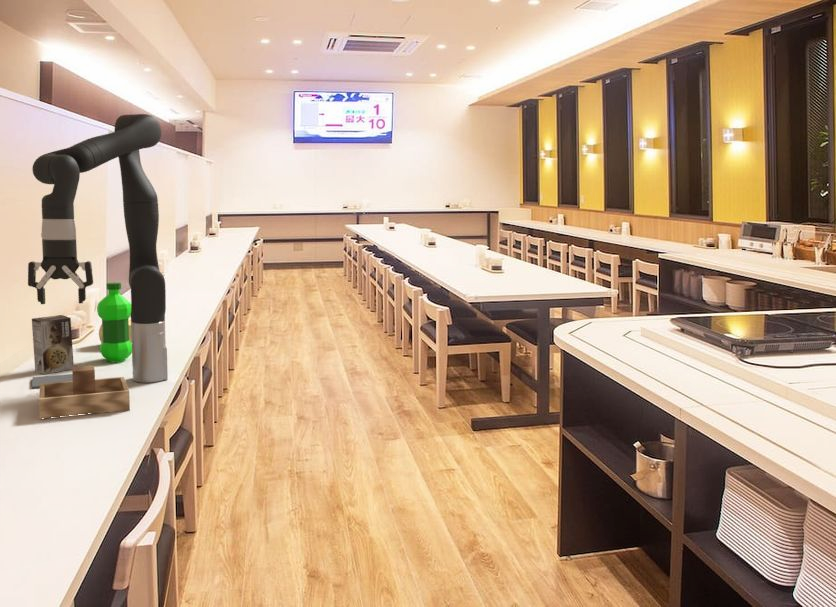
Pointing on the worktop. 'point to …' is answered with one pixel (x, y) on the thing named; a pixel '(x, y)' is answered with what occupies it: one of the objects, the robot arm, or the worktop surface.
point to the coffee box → (52, 344)
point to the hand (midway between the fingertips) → (62, 303)
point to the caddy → (83, 398)
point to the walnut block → (83, 380)
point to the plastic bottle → (115, 325)
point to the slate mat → (50, 379)
